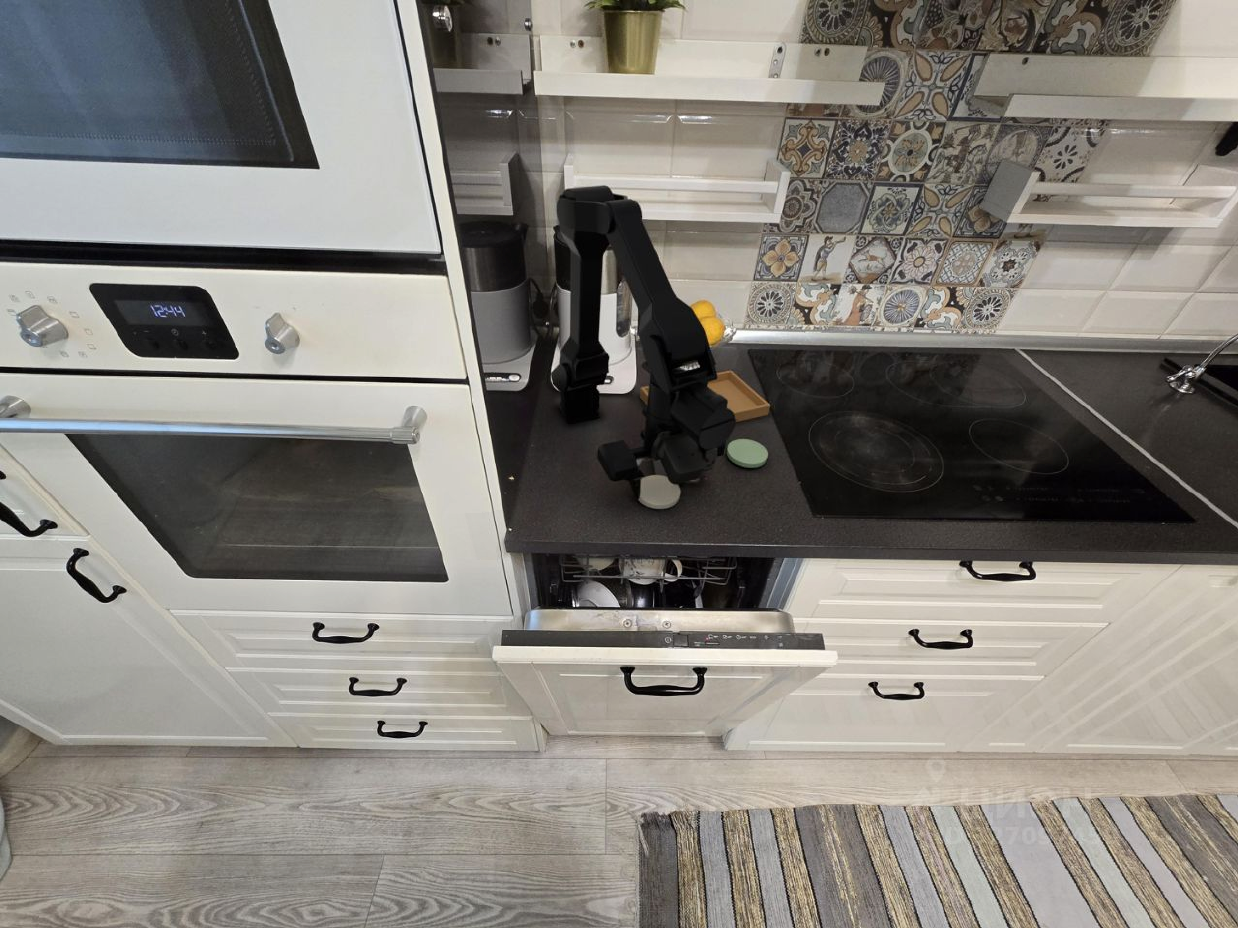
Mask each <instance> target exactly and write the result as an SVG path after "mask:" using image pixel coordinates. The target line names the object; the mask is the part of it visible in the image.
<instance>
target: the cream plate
mask: <svg viewBox="0 0 1238 928" xmlns="http://www.w3.org/2000/svg"><path fill="white" fill-rule="evenodd" d="M680 498H681V488H679V486H678V485H674V484H672V483H670V482H669V480H668V478H667V477H666V476H661V475H655V474H652V475H647V476H645V477H643V478H641V493H640V498H639V499H637V500H638V501H639V502H640V503H641V504H642V505H644V506H645V507H647V508H650V509H655V510H664V509H669V508H671V507H673V506H675V505H677V503H678V502H679V501H680Z"/></svg>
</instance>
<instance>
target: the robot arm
mask: <svg viewBox="0 0 1238 928" xmlns="http://www.w3.org/2000/svg"><path fill="white" fill-rule="evenodd" d="M556 217H557V220H558V225H559V232H560V234H561V236H562V238H563V239H564V241H565V243H566V245H567V247H568V248H569V250H570V274H569V275H570V276H569V277H570V279H569V280H570V289H569V292H570V293H569V336H568V338H567V340H566V341H565V342H564V344H563V346H562V347H561V349H560V351H559V362H558V365H557V366H556V367H555V368H554V369H553V370H552V371H551V372H550V378H551V382H552V385H553V386H554V388H556V389H557V391H558V392H559V394H560V395H559V396H560V397H559V398H560V403H558V404H557V407H558V410H559V411H560V413H561V415H562V416H563V418H564V420H565V422H566V424H571V425H572V424H576V423H580V422H585V421H589V420H590V421H591V420H596V419H599V418H601V414H600V412H599V411H598V410H599V409H600V390H599V389H598V386H604V385H605V382H606V379H607V376H608V374H609V373H610V369H609V363H610V357H611V356H610V354H609V353H608V352H607V351H606V350H605V348H604V345H602V344H601V342H600V326H601V325H600V323H601V322H600V321H601V308H602V307H601V306H602V287H603V286H602V285H603V271H604V269H603V268H604V256H605V253H606V251H607V250H608V248H609V246H610V247H611V250H612V252H613V255H614V257H615V259H616V261H617V264H618V266H619V268H620V271H621V273H622V275H623V278H624V280H625V282H626V284H627V287H628V289H629V291H630V295H631V296H632V298H633V301H634V303H635V305H636V307H637V310H638V313H639V316H640V320H639V325H638V333H637V334H638V338H639V341H640V344H641V347H642V353H643V356H644V359H645V361H644V362H642V363H641V368H642V369H643V370H644V371H645V372H647V373H648V374H649V378H648V379H649V380H648V386H649V390H648V402H647V405H646V406H643V407H642V410H641V411H642V412H641V414H642V415H643V417H644V418H645V425H644V429H643V430H640V435H639V436H640V438H641V440H642V441H643V445H641V446H638V447H634V448H629V445H628V444H627V443H626V441H625V440H624V439H622V440H621V439H620V440H617V441H616V440H615V441H612V442H608V443H607V442H606V443H603V444H600V445H599V446H598V448H597V449H596V450H597V451H596V454H597V455H596V459H597V462H598V463H599V464H600V465H601V468H602V470H603V471H604V473H605V474H606V477H607V478H608V480H609V481H611V482H615V483H616V482H620V481H625V482H628V483H629V485H630V488H631V490H632V493H633V495H634V497H635V499H636V500H638V499H639V498H640V493H641V479H643V478H644V477H646V476H645V474H644V473H643V471H642V469H641V464H642V463H646V462H651V461H652V460H655V461H657V460H660V461H661V463H662V466H663V468H664V470H665V472H666V474H667V478H668V480H669V482H670V483H672V484H674V485H678V486H679V488H680V489H681V488H682V487H683V486H684V485H685V484H684V483H685V482H687V481H691V480H697V479H698V478H699V477H700V478H701V475H702V473H704V472H708V471H712V470H713V465H714V464H715V463H716V461H717V458H718V457H721V456H724V455H725V453H726V450H727V446H728V445H727V444H728V442H727V440H728V439H729V438H730V437H731V435H732V434H733V432H734V431H735V428H736V424H737V422H736V420H735V414H734V412H733V411H732V410H730V409H729V408H728V407H727V404H728V400H727V399H726V398H724V397H723V396H722V395H719V394H717V393H715V392H714V391H713V390H711V389H710V388H709V387H707V385H708V382H710V381H713V380H716V379H717V378H718V376H717V373H718V372H717V368H716V365H717V363H716V360H715V357H714V355H713V353H712V350H711V349H712V348H711V346H710V342H709V338H708V335H707V332H706V329H705V327H704V325H703V323H702V322H701V320H700V319H699V317H698V316H697V314H696V312H695V310H694V309H693V308H692V307H691V306H690V305H689V304H687V303H686V302H684V300H682V299H680V298H679V297H678V296H677V294H676V293H675V291H674V289H673V287H672V284H671V283H670V280H669V278H668V276H667V274H666V271H665V268H664V266H663V265H662V262H661V260H660V258H659V255H658V253H657V251H656V249H655V247H654V244H653V242H652V240H651V237H650V235H649V233H648V230H647V228H646V226H645V224H644V222H643V210H642V208H641V205H640V203H639V202H638V201H637V200H633V199H631V198H628V196H627V195H624V194H619V193H614V192H613V191H612V189H611V188H610V187H609V186H608V185H605V184H603V185H592V186H580V187H571V188H570V187H569V188H566V189H564V190H563V192H562V194H560V195H559V197H558V199H557V202H556ZM696 363H697V364H698V366H699V367H695V368H692V369H689V370H684V369H683V368H682V367H685V366H689V365H692V364H696Z"/></svg>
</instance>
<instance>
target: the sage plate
mask: <svg viewBox="0 0 1238 928" xmlns="http://www.w3.org/2000/svg"><path fill="white" fill-rule="evenodd" d="M726 456H727V458H728V459H729V460H730V461H731V462H732V463H734V464H735V465H738V466H740V467H743V468H750V469H753V468H754V469H755V468H759V467H762V466H764V465H765V464H766V463H767V461H768V457H769V452H768V450H767V448H766V447H765V446H764V445H763V444H762V443H760V442H758V441H756V440H753V439H749V438H739V439H734V440H732V441H731V442H729V444H728V445H727V446H726Z"/></svg>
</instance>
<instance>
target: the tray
mask: <svg viewBox="0 0 1238 928" xmlns="http://www.w3.org/2000/svg"><path fill="white" fill-rule="evenodd" d="M717 376H718V378H717V379H716V380H713V381H710V382H708V385H707V387H709V388H710V389H711V390H713V391H714V392H715V393H717V394H719V395H722V396H723V397H724V398H726V399H727V400H728V404H727V407H728V408H729V409H730V410H732V411H733V412H734V414H735V420H736V423H738V422H742V421H747V420H752V419H756V418H760V417H765V416H768V415H769V412H770V408H771V404H770V403H768V402H767V400H765V399H764V398H763V397H762V396H761V395H759V394H758V393H757V392H756V391H755V390H754V389H753V388H752V387H751V386H749V384H748V383H746V382H745V381H744V380H743V379H741V378H740V377H739V376H738V375H737V374H736V373H734V372H733V371H732V370H728V371H721V372H717ZM648 390H649V385H647V386H642V387H640V391H639V398H640V399H641V400H642V402H643V403H644V404H645V405H646V406H647V402H648Z"/></svg>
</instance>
